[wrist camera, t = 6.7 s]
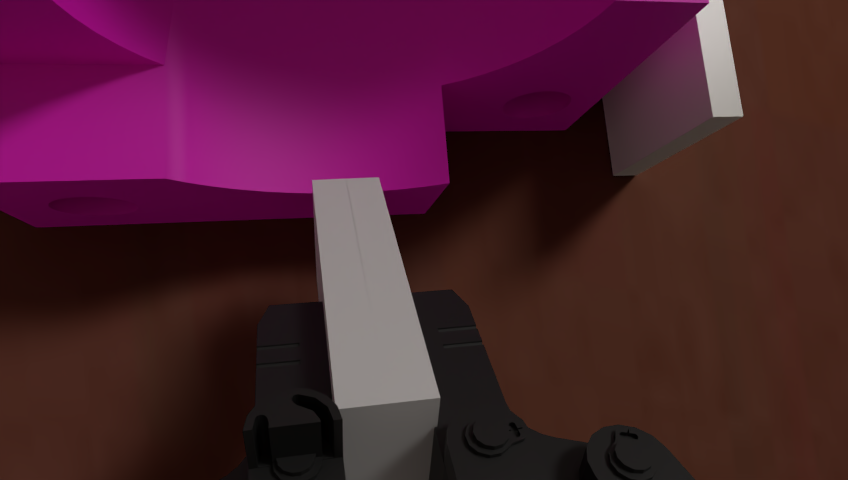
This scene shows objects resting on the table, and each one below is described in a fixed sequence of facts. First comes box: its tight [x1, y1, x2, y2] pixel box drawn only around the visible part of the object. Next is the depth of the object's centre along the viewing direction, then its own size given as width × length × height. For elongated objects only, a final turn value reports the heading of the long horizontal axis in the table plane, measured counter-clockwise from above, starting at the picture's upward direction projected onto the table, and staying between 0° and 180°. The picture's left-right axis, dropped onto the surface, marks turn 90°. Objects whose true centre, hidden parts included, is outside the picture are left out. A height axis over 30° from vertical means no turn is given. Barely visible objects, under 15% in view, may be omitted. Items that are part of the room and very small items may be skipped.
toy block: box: [0, 0, 709, 227], centre depth 15 cm, size 15×6×8 cm, turn 94°
